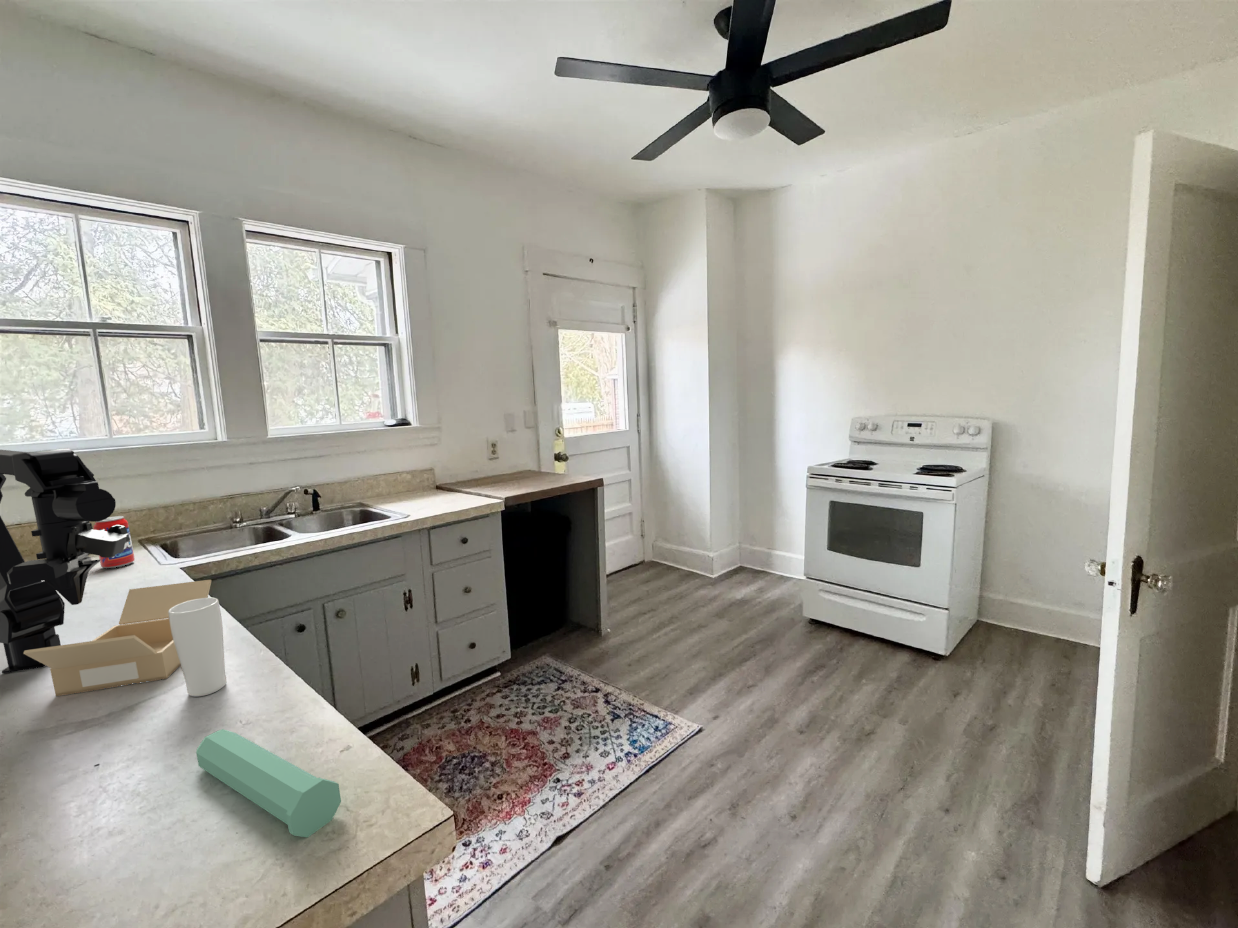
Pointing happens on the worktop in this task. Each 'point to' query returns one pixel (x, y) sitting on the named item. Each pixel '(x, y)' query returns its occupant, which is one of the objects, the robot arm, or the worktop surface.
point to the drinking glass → (199, 644)
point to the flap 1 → (91, 652)
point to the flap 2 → (160, 600)
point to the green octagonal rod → (270, 781)
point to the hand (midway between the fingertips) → (76, 603)
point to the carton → (123, 661)
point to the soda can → (127, 553)
